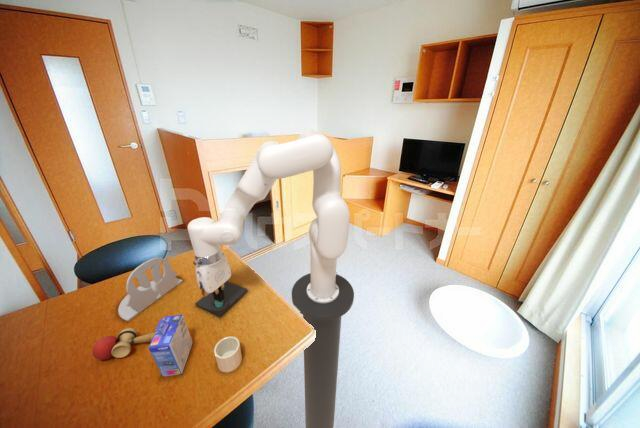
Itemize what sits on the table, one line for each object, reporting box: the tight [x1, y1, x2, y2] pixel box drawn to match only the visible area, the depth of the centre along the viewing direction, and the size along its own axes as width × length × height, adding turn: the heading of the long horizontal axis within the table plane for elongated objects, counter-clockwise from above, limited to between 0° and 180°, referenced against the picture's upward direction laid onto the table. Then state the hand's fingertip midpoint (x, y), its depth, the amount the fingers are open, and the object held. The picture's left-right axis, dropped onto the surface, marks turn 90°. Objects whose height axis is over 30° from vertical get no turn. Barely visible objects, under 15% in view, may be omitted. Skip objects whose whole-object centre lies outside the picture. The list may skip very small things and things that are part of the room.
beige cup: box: [213, 335, 243, 373], centre depth 67 cm, size 7×7×6 cm
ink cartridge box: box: [148, 314, 194, 377], centre depth 66 cm, size 10×6×14 cm, turn 10°
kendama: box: [91, 327, 157, 361], centre depth 71 cm, size 8×6×18 cm
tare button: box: [214, 300, 224, 308], centre depth 83 cm, size 3×3×2 cm
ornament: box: [117, 257, 184, 322], centre depth 88 cm, size 22×13×17 cm, turn 159°
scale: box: [195, 280, 249, 318], centre depth 89 cm, size 14×12×3 cm
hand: (219, 299), depth 83 cm, fingers closed
